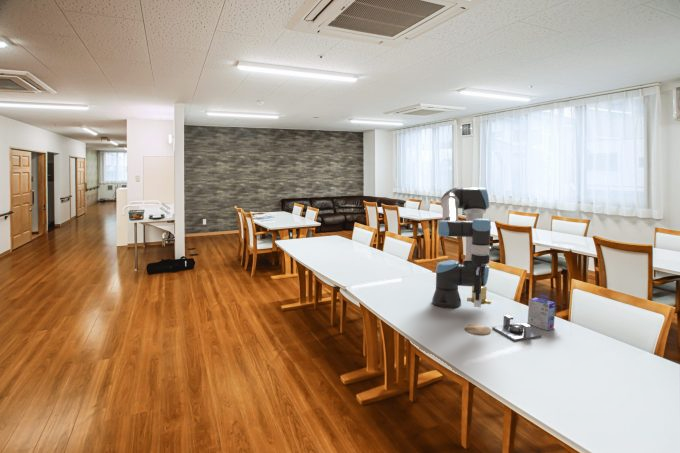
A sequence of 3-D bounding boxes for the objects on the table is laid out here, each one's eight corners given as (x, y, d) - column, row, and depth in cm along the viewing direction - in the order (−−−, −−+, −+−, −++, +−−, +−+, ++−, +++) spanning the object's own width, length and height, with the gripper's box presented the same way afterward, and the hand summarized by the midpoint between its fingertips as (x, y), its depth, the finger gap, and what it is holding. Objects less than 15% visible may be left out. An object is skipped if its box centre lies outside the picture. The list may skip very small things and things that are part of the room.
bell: (465, 302, 171) (466, 287, 170) (468, 298, 176) (469, 283, 175) (489, 305, 166) (490, 290, 165) (491, 301, 171) (492, 286, 170)
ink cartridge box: (554, 328, 174) (556, 297, 172) (547, 331, 171) (549, 299, 169) (533, 321, 182) (535, 292, 180) (527, 324, 179) (528, 294, 177)
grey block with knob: (492, 328, 174) (492, 316, 173) (518, 325, 178) (518, 313, 177) (514, 341, 160) (514, 328, 160) (541, 337, 164) (542, 324, 163)
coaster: (460, 326, 177) (460, 325, 177) (480, 324, 180) (480, 322, 180) (474, 336, 166) (474, 334, 166) (496, 333, 169) (496, 331, 169)
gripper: (486, 258, 158) (484, 312, 161) (492, 250, 175) (490, 299, 178) (467, 257, 162) (465, 309, 165) (475, 249, 178) (473, 297, 181)
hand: (478, 304), depth 171 cm, fingers closed on bell, 6 cm apart
